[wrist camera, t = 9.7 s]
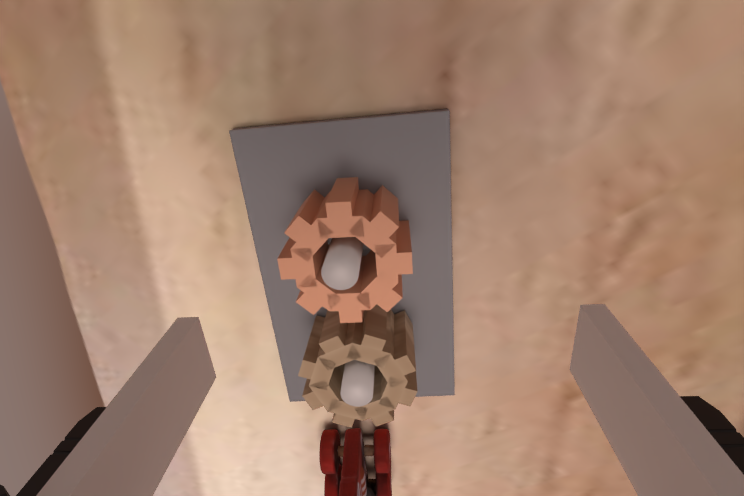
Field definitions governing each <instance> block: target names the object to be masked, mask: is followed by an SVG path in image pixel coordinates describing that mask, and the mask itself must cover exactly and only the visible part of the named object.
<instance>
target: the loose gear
mask: <svg viewBox="0 0 744 496" xmlns="http://www.w3.org/2000/svg"><path fill="white" fill-rule="evenodd" d="M284 233H285V234H286V235H287V236H289V239H288V241H287V243H286V244H285V246H284V248H283V250H282V251H281V253H280V255H279V257H278V258H277V260H278V265H279V271H280V276H281V280H285V279H296V285H297V288H298V289H300V293H299V295H298V298H297V300H296V303H298V304H299V305H301V306H302V307H303V308H305V309H306V310H307V311H309V312H310V313H312V314H313V315H314V314H315V313H316V312H317V311H318V310H319V309H320V308H321V307H322V306H323V307H324V308H326V309H327V310H328V311H339V318H340V323H355V322H362V321H363V313H364V310H371V309H372V308H373V307H374V306H375V305H376V304H377V305H378V306H380V307H381V308H382V309H384V310H385V311H386V312H388V311H389V310H390V309H391V308H392V307H393V306H395V305H396V304H397V303H398V302H399V301H400V300H401V299H402V298H403V293H402V274H413V266H412V248H411V238H410V228H409V220H405V221H399V209H398V198H397V197H396V196H394V195H393V194H392V193H391V192H390V191H389V190H387V189H386V188H385V187H384V186H383V185H382V186H381V187H380V188H379V190H378V191H377V192H376V193H375V194H372V193H371V192H370V191H369V190H368V189H364V190H359V185H358V177H349V178H337V179H336V181H335V183H334V185H333V188H332V190H331V191H330V192H329V193H328V194H327V195H326V197H323V196H322V195H321V194H320V193H318V192H317V191H316V190H315V189H314V190H313V192H312V193H311V194H310V195H309V196H308V198H307V199H306V200H305V201H304V202H303V203H302V205H301V206H300V208H299V210H298V211H297V213H296V215H295V216H294V218H293V219H292V221H291V223H290V224H289V226H288V227H287V229H286V231H285V232H284ZM341 237H356V238H357V239H359V240H360V241H361V242H362V243H364V244H365V245H366V246H367V247H368V248H370V249H371V251H370V252H369V253H368V254H367V255H366V256H362V257H361V264H360V270H359V277H358V280H357V282H356V283H355V285H354V286H352V287H351V288H349V289H346V290H336V289H333V288H331V287H329V286H328V285H327V284H326V283H325V282H324V280H323V278H322V275H321V270H322V266H323V263H324V260H325V258H326V255H327V252H328V249H329V246H330V245H329V244H328V240H327V239H328V238H341Z"/></svg>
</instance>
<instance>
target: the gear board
mask: <svg viewBox="0 0 744 496" xmlns="http://www.w3.org/2000/svg"><path fill="white" fill-rule="evenodd" d="M229 133H230V137H231V142H232V146H233V151H234V155H235V159H236V164H237V168H238V173H239V177H240V182H241V186H242V191H243V195H244V199H245V204H246V208H247V213H248V217H249V222H250V226H251V231H252V235H253V240H254V244H255V248H256V253H257V257H258V262H259V266H260V271H261V275H262V280H263V284H264V288H265V293H266V297H267V302H268V306H269V311H270V315H271V320H272V324H273V329H274V333H275V337H276V342H277V346H278V351H279V355H280V360H281V364H282V369H283V373H284V378H285V382H286V386H287V391H288V395H289V400H290V401H306V400H305V399H304V398H303V396H302V395H303V391H304V387H305V383H306V380H307V378H303V377H300V376H298V374H299V371H300V367H301V364H302V361H303V357H304V354H305V351H306V347H307V344H308V341H309V337H310V334H311V331H312V327H313V324H314V321H315V317H316V315H317V316H321V317H324V318H325V317H326V313H327V309H326V308H324V307H323V306H322V307H321V308H320V309H319V310H318V311H317V312H316V313H315V314H314V315H313V314H312V313H310V312H309V311H307V310H306V309H305V308H303V307H302V306H301V305H299V304H298V303H296V300H297V298H298V295H299V293H300V289H298V288H297V285H296V279H285V280H281V276H280V271H279V265H278V260H277V258H278V257H279V255H280V253H281V251H282V250H283V248H284V246H285V244H286V243H287V241H288V239H289V236H287V235H286V234H285V233H284V232H285V231H286V229H287V227H288V226H289V224H290V223H291V221H292V219H293V218H294V216H295V215H296V213H297V211H298V210H299V208H300V206H301V205H302V203H303V202H304V201H305V200H306V199H307V198H308V196H309V195H310V194H311V193H312V192H313V190H314V189H315V190H316V191H317V192H318V193H320V194H321V195H322V196H323V197H326V195H327V194H328V193H329V192H330V191H331V190H332V188H333V185H334V183H335V181H336V179H337V178H349V177H358V185H359V190H364V189H368V190H369V191H370V192H371V193H372V194H375V193H376V192H377V191H378V190H379V188H380V187H381V186H382V185H383V186H384V187H385V188H386V189H387V190H389V191H390V192H391V193H392V194H393V195H394V196H396V197H397V198H398V209H399V221H405V220H409V228H410V238H411V248H412V266H413V274H402V293H403V298H402V299H401V300H400V301H399V302H398V303H397V304H396V305H395V306H393V307H392V308H391V310H392V312H393V314H397V313H399V312H402V311H404V310H405V312H406V314H407V315H408V317H409V319H410V321H411V322H412V324H413V335H414V348H415V362H416V378H417V394H416V396H415V397H419V396H445V395H454V338H453V279H452V221H451V163H450V111H449V110H448V109H439V110H429V111H418V112H407V113H396V114H385V115H374V116H363V117H352V118H341V119H330V120H319V121H308V122H297V123H286V124H275V125H264V126H254V127H243V128H234V129H232V130H229ZM327 240H328V244H329V245H330V246H329V249H328V252H327V255H326V258H325V260H324V263H323V266H322V270H321V275H322V278H323V280H324V282H325V283H326V284H327V285H328V286H329V287H331V288H333V289H336V290H346V289H349V288H351V287H352V286H354V285H355V283H356V282H357V280H358V277H359V270H360V264H361V257H362V256H366V255H367V254H368V253H369V252H370V251H371V249H370V248H368V247H367V246H366V245H365V244H364V243H362V242H361V241H360V240H359V239H357V238H356V237H341V238H328V239H327ZM374 370H375V365H372V364H368V363H365V362H361V361H358V360H352V361H350V362H347V363H345V367H344V373H343V379H342V386H341V393H340V394H341V398H342V400H343V401H344V402H345V403H347V404H348V405H351V406H356V407H360V406H364V405H367V404H368V403H369V402H370V401H371V400H372V398H373V387H374Z"/></svg>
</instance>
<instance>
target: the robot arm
mask: <svg viewBox="0 0 744 496" xmlns="http://www.w3.org/2000/svg"><path fill="white" fill-rule="evenodd" d="M570 371H571V373H572V375H573V376H574V378H575V380H576V382H577V384H578V386H579V388H580V389H581V391H582V393H583V395H584V397H585V399H586V400H587V402H588V404H589V406H590V408H591V410H592V411H593V413H594V415H595V417H596V419H597V421H598V422H599V424H600V426H601V428H602V430H603V432H604V434H605V435H606V437H607V439H608V441H609V443H610V445H611V446H612V448H613V450H614V452H615V454H616V456H617V457H618V459H619V461H620V463H621V465H622V467H623V469H624V470H625V472H626V474H627V476H628V478H629V480H630V481H631V483H632V485H633V487H634V489H635V491H636V492H637V494H638V496H744V438H743V436H742V435H741V434H740V433H737V432H736V429H735V427H734V426H733V425H732V424H731V423H730V422H729V421H728V420H727V418H726V417H725V416H724V415H723V414H722V413H721V412H720V411H719V410H717V409H716V408H715V407H713V406H712V405H710V404H709V403H707V402H706V401H704V400H703V399H702V398H700V397H699V396H681V397H680V396H679V395H678V394H677V392H676V391H675V390H674V389H673V388H672V386H671V385H670V384H669V383H668V381H667V380H666V379H665V378H664V376H663V375H662V374H661V373H660V372H659V370H658V369H657V368H656V367H655V365H654V364H653V363H652V362H651V361H650V359H649V358H648V357H647V356H646V354H645V353H644V352H643V351H642V350H641V348H640V347H639V346H638V345H637V343H636V342H635V341H634V340H633V338H632V337H631V336H630V335H629V334H628V332H627V331H626V330H625V329H624V327H623V326H622V325H621V324H620V323H619V321H618V320H617V319H616V318H615V316H614V315H613V314H612V313H611V311H610V310H609V309H608V308H607V307H606V305H605V304H590V305H580V311H579V317H578V323H577V329H576V335H575V340H574V346H573V352H572V358H571V364H570ZM215 378H216V374H215V371H214V368H213V364H212V361H211V357H210V354H209V351H208V347H207V344H206V341H205V337H204V334H203V331H202V327H201V324H200V320H199V317H187V318H177V319H176V321H175V322H174V323H173V324H172V326H171V327H170V328H169V329H168V331H167V332H166V333H165V334H164V336H163V337H162V338H161V339H160V341H159V342H158V343H157V344H156V346H155V347H154V348H153V350H152V351H151V352H150V353H149V355H148V356H147V357H146V358H145V360H144V361H143V362H142V363H141V365H140V366H139V367H138V368H137V370H136V371H135V372H134V373H133V375H132V376H131V377H130V378H129V380H128V381H127V382H126V383H125V385H124V386H123V387H122V389H121V390H120V391H119V392H118V394H117V395H116V396H115V397H114V399H113V400H112V401H111V402H110V404H109V405H108V406H107V407H97V408H95V409H94V410H93V411H91V412H90V413H89V414H88V415H86V416H85V417H84V418H83V419H81V420H80V421H78V423H77V424H76V425H75V426H74V427H73V428H72V430H71V431H70V432H69V433H68V435H67V436H66V437H65V440H64V441H62V442H61V443H60V444H59V445H58V446H57V448H56V449H55V450H54V453H53V454H52V455H50V456H49V457H48V458H47V459H46V461H45V462H44V463H43V464H42V465H41V467H40V468H39V469H38V470H37V471H36V473H35V474H34V475H33V476H32V477H31V479H30V480H29V481H28V482H27V483H26V485H25V486H24V487H23V488H22V489H21V490H20V492H19V493H18V494H17V495H16V496H153V494H154V492H155V490H156V488H157V487H158V485H159V483H160V481H161V479H162V477H163V475H164V473H165V472H166V470H167V468H168V466H169V464H170V462H171V460H172V459H173V457H174V455H175V453H176V451H177V449H178V447H179V446H180V444H181V442H182V440H183V438H184V436H185V434H186V432H187V431H188V429H189V427H190V425H191V423H192V421H193V419H194V418H195V416H196V414H197V412H198V410H199V408H200V406H201V404H202V403H203V401H204V399H205V397H206V395H207V393H208V391H209V390H210V388H211V386H212V384H213V382H214V380H215ZM0 496H10V495H9V494H8V492H7V491H6V489H5V488H4V486H2V485H0Z"/></svg>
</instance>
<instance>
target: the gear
mask: <svg viewBox="0 0 744 496" xmlns="http://www.w3.org/2000/svg"><path fill="white" fill-rule="evenodd" d="M352 360H358V361H361V362H365V363H368V364H372V365H375V370H374V387H373V398H372V400H371V401H370V402H369V403H368V404H367V405H364V406H360V407H356V406H351V405H348V404H347V403H345V402H344V401H343V400H342V398H341V394H340V393H341V386H342V379H343V373H344V367H345V363H347V362H350V361H352ZM298 376H300V377H303V378H307V380H306V383H305V387H304V391H303V395H302V396H303V398H304V399H305V400H306V402H307V403H308V404H309V406H310V407H311V408H312V410H314V409H317V408H319V407H322V406H324V407H325V409H326V410H327V411H328V412H331V413H334V416H333V422H332V423H336V424H340V425H344V426H348V427H351V428H352V425H353V423H354V420H355V419H358V420H362V421H364V420H367V419H369V418H370V419H371V420H372V422H373V423H374V425H375V426H376V427H377V426H379V425H382V424H385V423H388V422H391V421H394V409H396V407H397V405H398V403H400V404H403V405H407V406H411V404H412V402H413V400H414V398H415V396H416V394H417V378H416V362H415V348H414V335H413V324H412V322H411V321H410V319H409V317H408V315H407V314H406V312H405V310H404V311H402V312H399V313H397V314H393V312H392V310H391V309H390V310H389V311H388V312H386V311H385V310H384V309H382V308H381V307H380V306H378V305H377V304H376V305H375V306H374V307H373V308H372V309H371V310H364V313H363V321H362V322H355V323H340V318H339V311H328V310H327V313H326V317H325V318H324V317H321V316H317V315H316V317H315V321H314V324H313V327H312V331H311V334H310V337H309V341H308V344H307V347H306V351H305V354H304V357H303V361H302V364H301V367H300V371H299V374H298Z"/></svg>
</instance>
